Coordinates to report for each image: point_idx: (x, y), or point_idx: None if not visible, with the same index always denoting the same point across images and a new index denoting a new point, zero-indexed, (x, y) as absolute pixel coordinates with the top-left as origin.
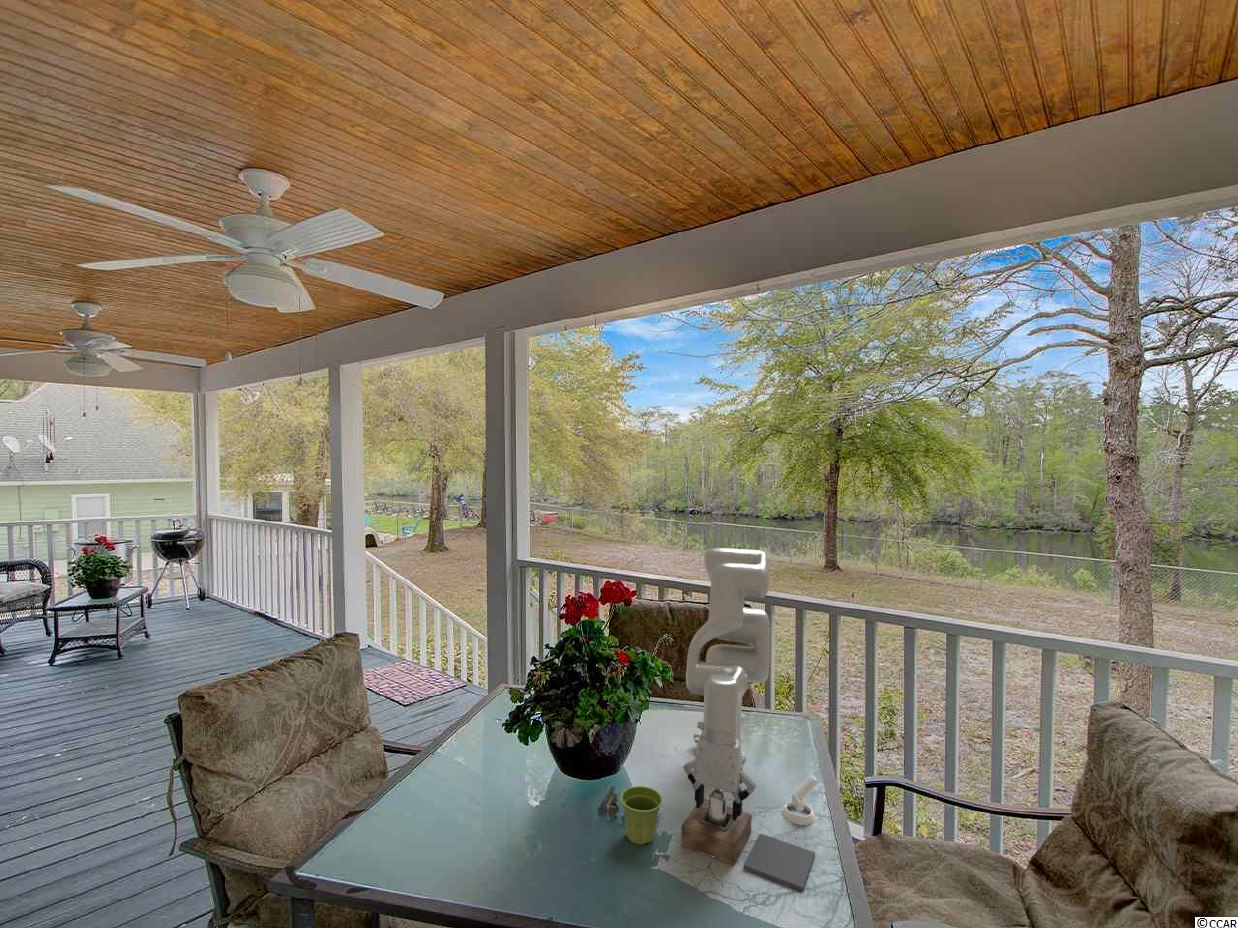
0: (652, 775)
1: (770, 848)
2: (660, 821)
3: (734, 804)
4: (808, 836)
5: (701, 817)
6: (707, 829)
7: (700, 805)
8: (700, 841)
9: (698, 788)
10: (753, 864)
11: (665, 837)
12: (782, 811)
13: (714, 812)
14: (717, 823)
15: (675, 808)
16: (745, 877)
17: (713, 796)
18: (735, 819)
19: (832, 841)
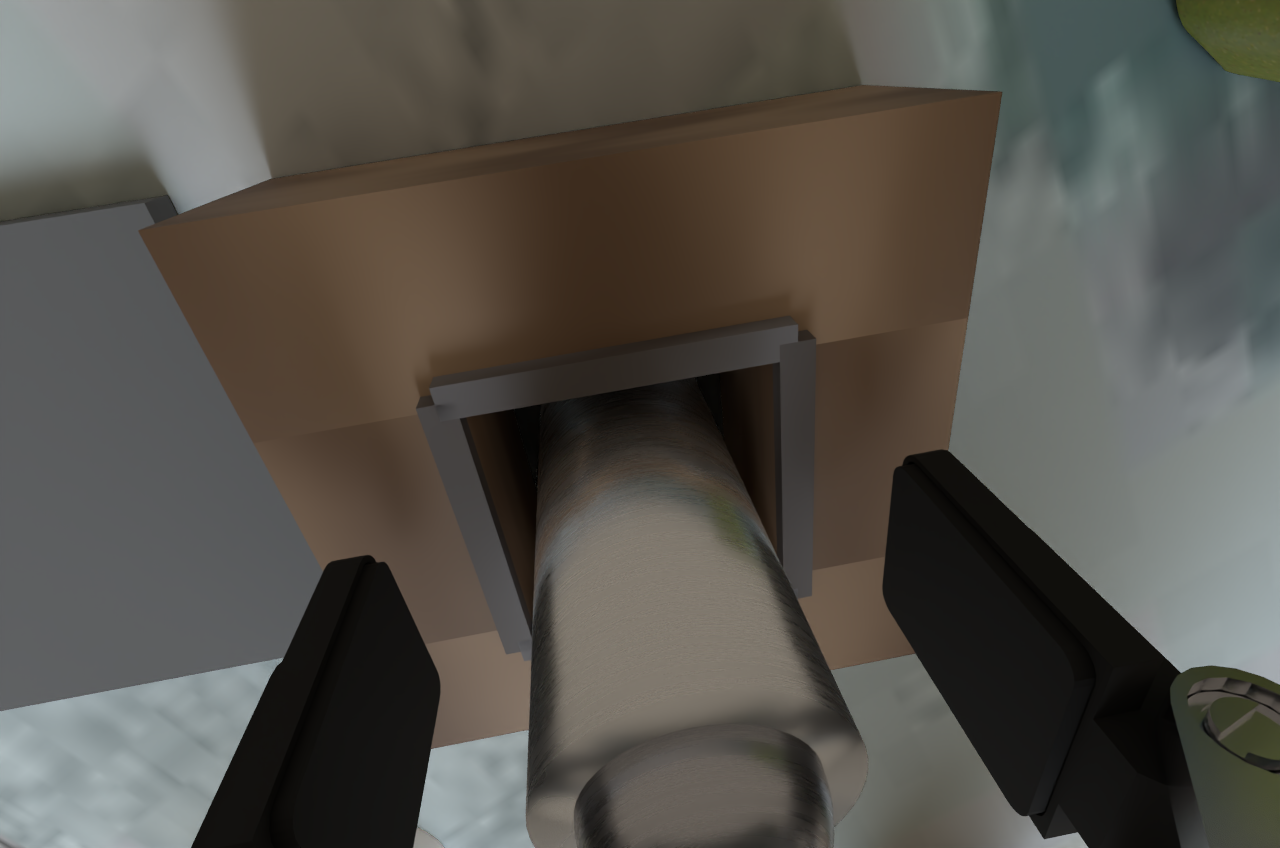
0: (1261, 638)
1: (184, 560)
2: (1136, 271)
3: (245, 805)
4: (163, 791)
5: (806, 396)
6: (640, 258)
7: (896, 511)
8: (669, 128)
9: (1132, 723)
10: (91, 282)
11: (1044, 85)
12: (430, 843)
13: (649, 503)
14: (587, 433)
15: (1046, 483)
16: (41, 73)
17: (755, 729)
18: (332, 577)
19: (32, 836)
